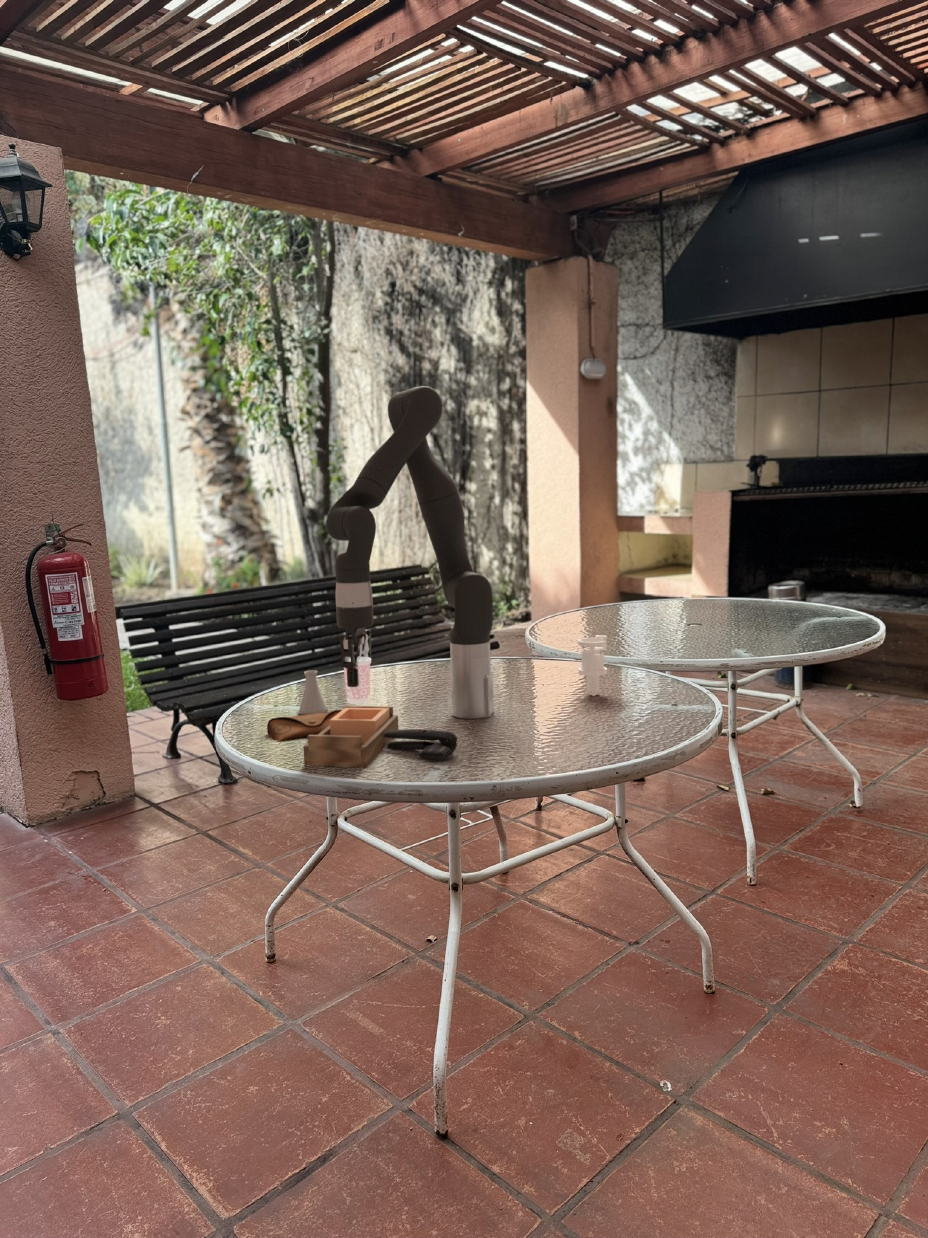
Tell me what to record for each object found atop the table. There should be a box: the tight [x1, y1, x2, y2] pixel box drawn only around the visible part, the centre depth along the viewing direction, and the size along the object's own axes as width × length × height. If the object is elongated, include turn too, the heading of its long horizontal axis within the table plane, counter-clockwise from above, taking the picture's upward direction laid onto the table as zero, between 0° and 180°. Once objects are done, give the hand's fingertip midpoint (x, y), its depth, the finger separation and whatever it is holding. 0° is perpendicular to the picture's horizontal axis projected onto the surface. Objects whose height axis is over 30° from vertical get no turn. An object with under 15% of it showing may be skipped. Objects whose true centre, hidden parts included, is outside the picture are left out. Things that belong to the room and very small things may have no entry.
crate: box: [330, 707, 390, 744], centre depth 188 cm, size 10×10×5 cm
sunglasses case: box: [266, 709, 343, 743], centre depth 197 cm, size 18×7×7 cm
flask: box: [297, 670, 329, 715], centre depth 215 cm, size 7×7×10 cm
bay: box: [303, 705, 399, 769], centre depth 183 cm, size 12×24×6 cm, turn 169°
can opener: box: [385, 727, 458, 762], centre depth 179 cm, size 18×7×6 cm, turn 53°
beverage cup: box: [343, 657, 372, 705], centre depth 186 cm, size 6×6×14 cm
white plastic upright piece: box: [577, 634, 608, 692], centre depth 222 cm, size 7×7×15 cm
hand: (358, 682), depth 187 cm, fingers closed on beverage cup, 6 cm apart
